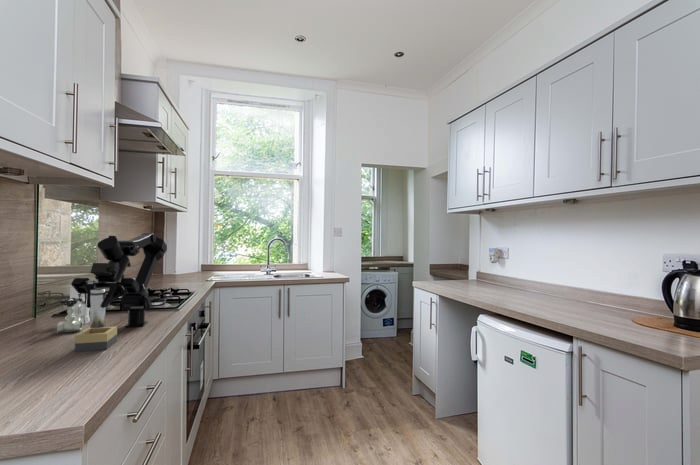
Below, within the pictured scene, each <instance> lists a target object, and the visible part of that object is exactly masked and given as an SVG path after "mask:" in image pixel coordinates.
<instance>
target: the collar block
mask: <svg viewBox="0 0 700 465" xmlns="http://www.w3.org/2000/svg"><path fill="white" fill-rule="evenodd" d="M74 339H75V340H74V352H75V353H76V352H89V351H91V352H92V351H106V350H108V349H109V348H111V347H112V346H113V345H114V344H115V343H116V342H118V326H104V327H101V328H90V327H87V328H86V329H84V330H81V331H79V333H77V334H75V336H74Z"/></svg>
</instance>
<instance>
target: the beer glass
mask: <svg viewBox="0 0 700 465" xmlns="http://www.w3.org/2000/svg"><path fill="white" fill-rule="evenodd" d="M72 298H75V299H77V298H81V299H82V302H79V301H77V303H76V304H75V305H74V306H73V307H72V309H74V313H72V314H74V316H76V317H75V319H74V321H80V320H81V321H82V322H83V325H86V324H90V308H87V294H80V293H78V292H77V291H76V290H75V288H74V287H73V286H72V285H70V291H69V299H72Z"/></svg>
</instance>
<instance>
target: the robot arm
mask: <svg viewBox="0 0 700 465" xmlns="http://www.w3.org/2000/svg"><path fill="white" fill-rule="evenodd" d="M97 248H98V250H99V251H100V253H101V255H102V256H103V258H104V259H105V260H107V261H108V262H93V263H92V265H91V268H90V272H89V273H90V274H93V275H95V276H94V278H95V280H93V279H91V280H90V278H89V277H74V278H73V280H72V281H71V282H70V286H73V287H74V288H75V290H76V291H77V292H78V293H80V294H87V308H90V290H91V289H100V288H104V289H106V290H107V289H108V292H107V293H106V297H105V299H104V301H103V304H102V308H105V307H108V306H109V305H110V304H111V303H113V302H114V301H115V300H118V299H119V298H120V305H121V310H122V311H123V312H124V311H127V314H128V315H127V323H126V324H125V325H124V328H130V327H131V328H132V327H133V328H134V327H144V326H145V325H146V324H147V323H148V320H146V311H147V310H151V307H152V301H151V299H150V297H149V293H148V290H147V288H148V286H149V282H150V281H151V278H152V275H153V272H154V269H155V267H156V265H157V262H158V261H159V260H160V259H162V258H164V256H165V254H166V252H167V249H168V245H167V243H166V242H165V240H164V239H162V238H160V237H158V235H157V234H156V233H153V232H151V233H149V232H146V233H145V232H144V233H143V232H142V233H141V234H139V235H138V236H136V237H135V236H134V237H133V238H131V239H126V240H124V239H123V240H118V238H117V236H116V235H108V237H106V238H103V239H101V240H99V241H98V243H97ZM141 249H142V251H143V254H144V258H143V260H142V263H141V265H140V268H139V270H138V272H137V275H136V277H125V275H124V273H125V272H126V270H127V268H128V267H131V266H132V265H131V264H132V263H131V261H130V258H129V257H136V256H137V255H138V254H139V253H140V250H141ZM96 280H97V281H96Z"/></svg>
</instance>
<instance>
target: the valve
mask: <svg viewBox="0 0 700 465" xmlns="http://www.w3.org/2000/svg"><path fill="white" fill-rule="evenodd" d="M58 301H59V304H60V305H61V304H63V305H64V306H66V307H67V308H68V309H66V313H67V314H66V316H65V317H64V320H65V321H59V322H58V323H57V325H56V332H57V333H72V332H74V331H75V332H82V330H83V325H84V324H83V322H82V321H81V320H80V321H74V319H75V317H76V316H74V314H72V313H74V309H72V307H73V306H74V305H75V304H76V303H77V301H79V302H82V299H81V298H77V299H75V298H72V299H70V298H68V297H67V298H64V299H59V300H58Z"/></svg>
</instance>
